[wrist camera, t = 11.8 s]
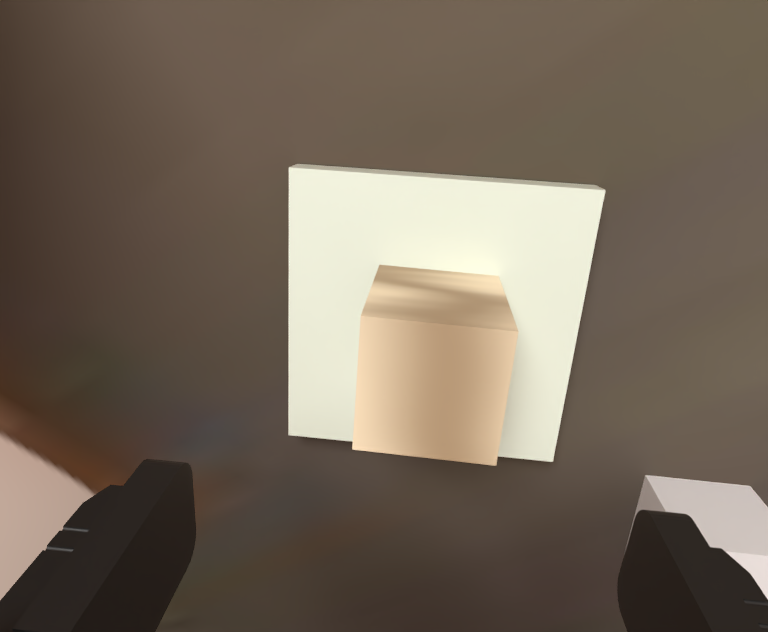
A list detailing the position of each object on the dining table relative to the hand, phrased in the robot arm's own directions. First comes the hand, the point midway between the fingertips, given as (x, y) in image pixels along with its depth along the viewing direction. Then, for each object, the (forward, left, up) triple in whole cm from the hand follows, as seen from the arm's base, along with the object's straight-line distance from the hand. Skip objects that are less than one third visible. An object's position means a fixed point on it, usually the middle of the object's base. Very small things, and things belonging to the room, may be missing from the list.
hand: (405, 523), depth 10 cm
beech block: (0, 0, -10) cm, 10 cm away
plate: (0, 0, -11) cm, 11 cm away
